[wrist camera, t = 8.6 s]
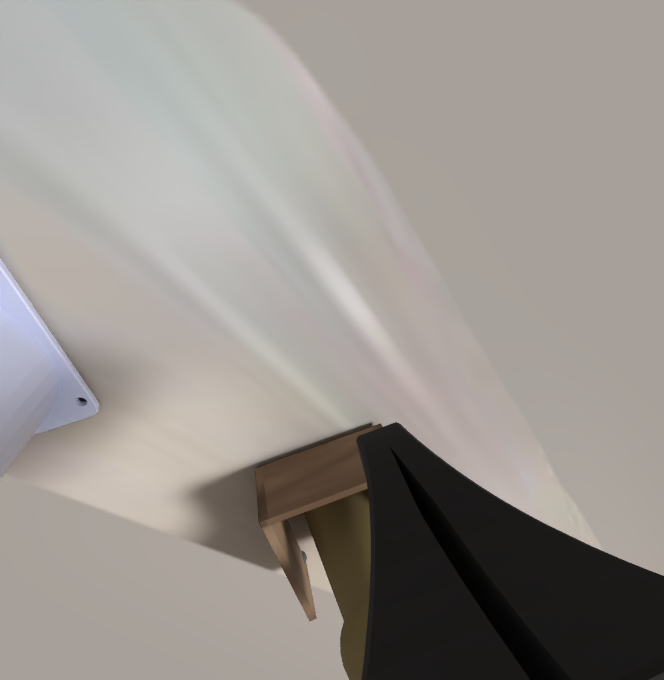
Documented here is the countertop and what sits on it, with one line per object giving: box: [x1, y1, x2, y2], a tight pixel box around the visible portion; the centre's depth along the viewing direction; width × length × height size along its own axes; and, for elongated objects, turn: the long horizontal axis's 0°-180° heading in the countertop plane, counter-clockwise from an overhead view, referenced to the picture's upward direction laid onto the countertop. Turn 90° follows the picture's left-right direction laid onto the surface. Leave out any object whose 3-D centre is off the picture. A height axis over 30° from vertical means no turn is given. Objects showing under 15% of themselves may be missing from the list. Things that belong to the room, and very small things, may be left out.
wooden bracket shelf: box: [255, 424, 382, 621], centre depth 25 cm, size 11×9×4 cm
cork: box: [304, 489, 371, 680], centre depth 22 cm, size 6×6×11 cm
